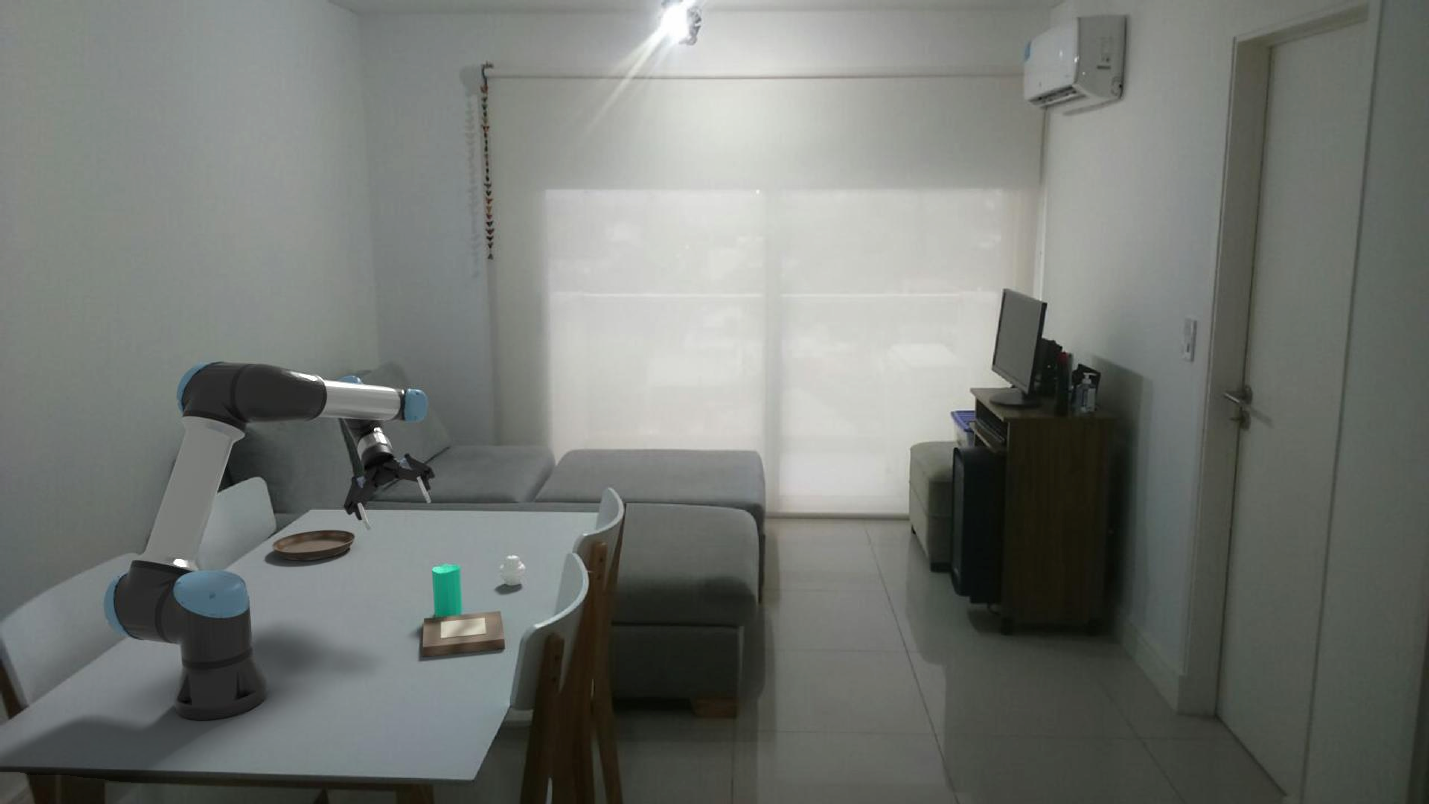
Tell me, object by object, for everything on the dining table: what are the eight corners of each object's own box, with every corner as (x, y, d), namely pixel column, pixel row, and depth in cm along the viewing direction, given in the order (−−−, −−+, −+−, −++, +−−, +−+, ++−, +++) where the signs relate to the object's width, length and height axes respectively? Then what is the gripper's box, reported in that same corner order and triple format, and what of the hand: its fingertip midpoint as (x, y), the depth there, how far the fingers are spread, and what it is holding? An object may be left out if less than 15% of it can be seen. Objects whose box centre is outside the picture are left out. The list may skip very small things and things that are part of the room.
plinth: (423, 656, 211) (422, 646, 211) (424, 627, 227) (424, 617, 226) (504, 648, 215) (504, 638, 215) (500, 619, 230) (500, 610, 230)
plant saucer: (270, 546, 285) (269, 534, 284) (351, 536, 293) (350, 524, 293) (274, 569, 266) (273, 556, 266) (360, 557, 275) (359, 545, 274)
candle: (467, 613, 235) (465, 560, 233) (444, 620, 230) (441, 567, 228) (452, 606, 239) (449, 555, 237) (429, 613, 234) (426, 561, 232)
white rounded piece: (529, 579, 256) (528, 551, 255) (522, 588, 250) (520, 559, 249) (504, 578, 257) (502, 551, 255) (496, 587, 251) (495, 559, 249)
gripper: (434, 446, 250) (457, 499, 234) (331, 491, 244) (348, 548, 228) (423, 422, 245) (446, 475, 230) (318, 468, 239) (334, 525, 224)
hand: (397, 512), depth 229 cm, fingers open, 13 cm apart
